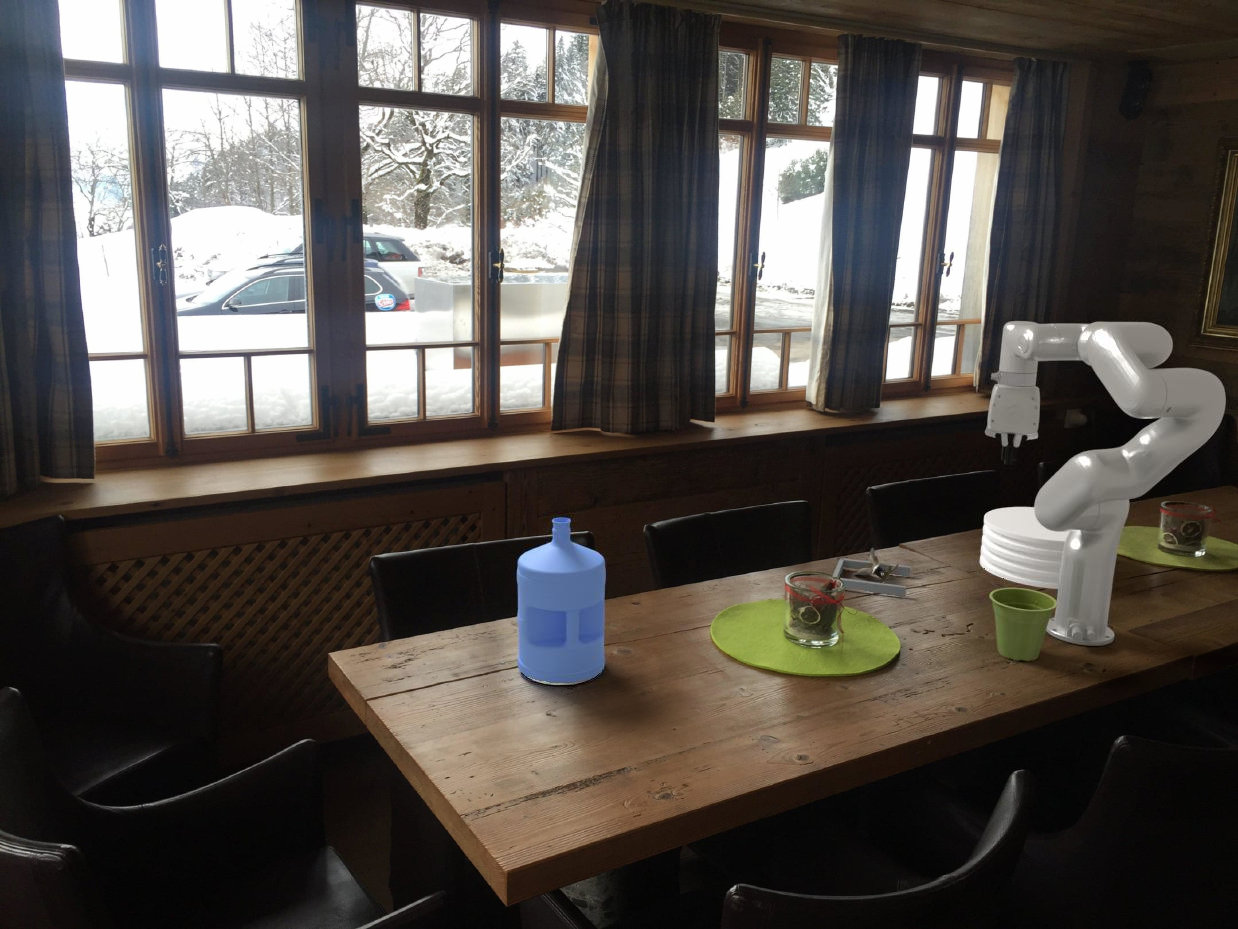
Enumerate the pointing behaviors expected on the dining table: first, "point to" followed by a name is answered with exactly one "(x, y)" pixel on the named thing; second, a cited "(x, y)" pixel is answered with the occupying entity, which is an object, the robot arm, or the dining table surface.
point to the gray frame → (872, 586)
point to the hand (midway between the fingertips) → (1008, 463)
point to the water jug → (561, 610)
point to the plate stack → (1021, 547)
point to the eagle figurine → (876, 568)
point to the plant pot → (1021, 621)
